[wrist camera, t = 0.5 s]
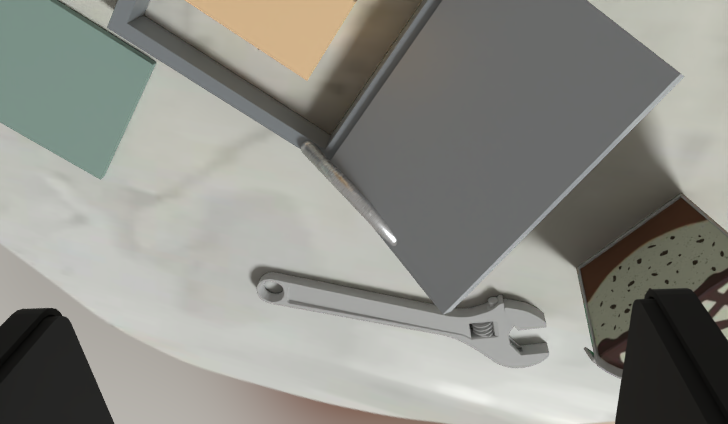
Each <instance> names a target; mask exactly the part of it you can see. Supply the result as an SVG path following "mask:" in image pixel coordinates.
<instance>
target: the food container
mask: <svg viewBox="0 0 728 424" xmlns="http://www.w3.org/2000/svg"><path fill="white" fill-rule="evenodd" d="M576 269H577V274H578V279H579V284H580V289H581V294H582V298H583V303H584V308H585V313H586V318H587V323H588V328H589V333H590V337H591V342H592V347H593V352H594V353H593V352H592V351H591V350H589V349H588V348H586V347H585V348H584V350H585V351H586V353H587V354H588V356H589V357H590V359H591V360H592V361H593V362H594V363H595V364H597V366H598V367H599V368H601V369H602V370H604V371H605V372H607V373H609V374H611V375H613V376H615V377H617V378H620V379H622V373H623V366H624V359H625V352H626V346H627V339H628V332H629V325H630V319H631V312H632V306H633V302H634V301H635V300H636V299H644V297H645V294H646V292H647V291H648V290H650V289H674V288H689V289H691V290H692V291H693V292H694V293H695V294H696V296H697V297H698V298H699V300H700V301H701V303H702V304H703V306H704V307H705V308H706V310H707V311H708V313H709V314H710V316H711V317H712V318H713V320H714V321H715V323H716V324H717V326H718V327H719V328H720V330H721V331H722V333H723V334H724V336H725V337H726V339H727V340H728V232H727V231H725V230H724V229H723V228H722V227H721V226H720V225H719V224H717V223H716V222H715V221H714V220H713V219H712V218H710V217H709V216H708V215H707V214H706V213H705V212H703V211H702V210H701V209H700V208H699V207H698V206H696V205H695V204H694V203H693V202H692V201H691V200H689V199H688V198H687V197H686V196H685V195H684V194H683V193H681V194H679V195H678V196H676V197H675V198H674V199H672V200H671V201H669V202H668V203H667V204H665V205H664V206H662V207H661V208H660V209H658V210H657V211H655V212H654V213H653V214H651V215H650V216H648V217H647V218H646V219H644V220H643V221H641V222H640V223H639V224H637V225H636V226H634V227H633V228H632V229H630V230H629V231H627V232H626V233H625V234H623V235H622V236H620V237H619V238H618V239H616V240H615V241H613V242H612V243H611V244H609V245H608V246H606V247H605V248H604V249H602V250H601V251H599V252H598V253H597V254H595V255H594V256H592V257H591V258H590V259H588V260H587V261H585V262H584V263H583V264H581V265H580V266H578V267H577V268H576Z"/></svg>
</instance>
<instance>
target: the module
mask: <svg viewBox="0 0 728 424" xmlns="http://www.w3.org/2000/svg"><path fill="white" fill-rule="evenodd" d="M185 1H187V2H188V3H190V4H191V5H193V6H194V7H196V8H197V9H199V10H200V11H202V12H203V13H205V14H206V15H208V16H210V17H211V18H213V19H214V20H216V21H217V22H219V23H220V24H222V25H223V26H225V27H226V28H228V29H229V30H231V31H232V32H234V33H235V34H237V35H238V36H240V37H241V38H243V39H244V40H246V41H248V42H249V43H251V44H252V45H254V46H255V47H257V48H258V49H260V50H261V51H263V52H264V53H266V54H267V55H269V56H270V57H272V58H273V59H275V60H276V61H278V62H279V63H281V64H282V65H284V66H286V67H287V68H289V69H290V70H292V71H293V72H295V73H296V74H298V75H299V76H301V77H302V78H304V79H305V80H308V79H309V77H310V75H311V74H312V72H313V71H314V69H315V67H316V66H317V64H318V62H319V61H320V59H321V58H322V56H323V54H324V53H325V51H326V50H327V48H328V46H329V45H330V43H331V41H332V40H333V38H334V37H335V35H336V33H337V32H338V30H339V29H340V27H341V25H342V24H343V22H344V20H345V19H346V17H347V16H348V14H349V12H350V11H351V9H352V8H353V6H354V4H355V3H356V1H357V0H185Z"/></svg>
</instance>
